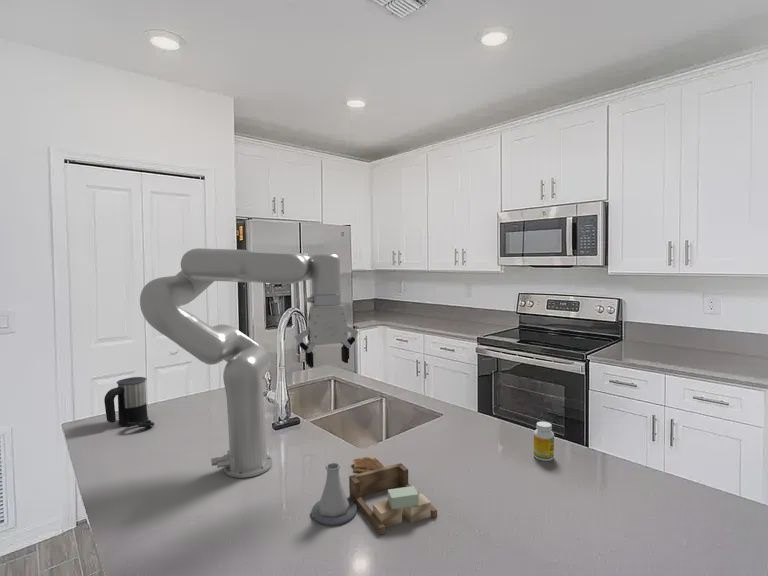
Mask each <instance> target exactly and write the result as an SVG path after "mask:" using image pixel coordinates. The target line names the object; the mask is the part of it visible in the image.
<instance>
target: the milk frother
mask: <svg viewBox="0 0 768 576" xmlns="http://www.w3.org/2000/svg"><path fill="white" fill-rule="evenodd" d="M146 381H147V378H146V377H143V376H134V377H133V376H132V377H126V378H122V379H119V380H117V381H116V384H117V387H113V388H112V389H111V388H110V390H108V391H107V393H106V394H105V396H104V400H103V401H104V409H105V416H106V417H105V418H106V422H108V423H112V424H113V423H116V419H117V418H116V417H118V423H117V424H118V425H119V426H123V427H129V426H132V427H133V426H138V427H141V428H145V429H150V428H151V427H154V426H155V422H154V421H152V420H149V416H148V407H147V406H148V405H147V386H146V385H147V384H146ZM116 397H117V407H118V409H117V410H118V411H117V412H118V415H117V416H116V407H115V398H116Z"/></svg>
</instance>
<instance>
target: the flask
mask: <svg viewBox="0 0 768 576" xmlns="http://www.w3.org/2000/svg"><path fill="white" fill-rule="evenodd" d="M340 468H341V464H340V463H339V462H329V463H326V465H325V469H326V480H325V484H324V488H323V491H322V495H321V498H320V500H319V501H320V503H319V506H318V510H319V512H320V514H321V515H323V516H331V517H335V516H339V515H342V514H346V513H347V511H348V509H349V507H350V505H349V502H348V500H347V498H348V497H347V495H346V493H345V490H344V487H343V485H342V482H341V477H340V472H339V471H340Z"/></svg>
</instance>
